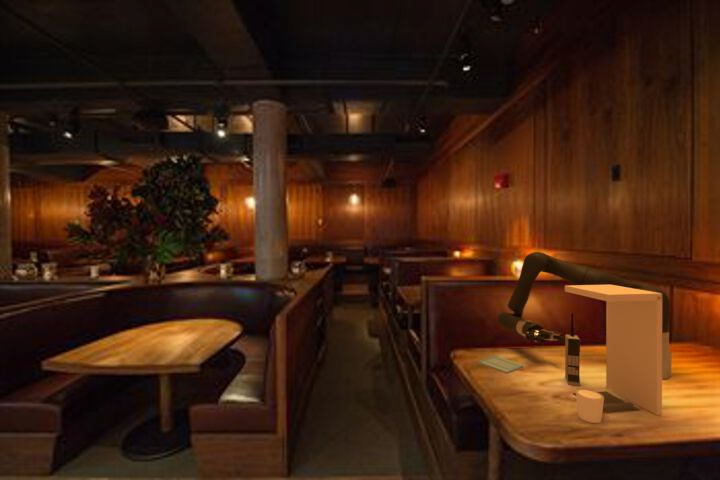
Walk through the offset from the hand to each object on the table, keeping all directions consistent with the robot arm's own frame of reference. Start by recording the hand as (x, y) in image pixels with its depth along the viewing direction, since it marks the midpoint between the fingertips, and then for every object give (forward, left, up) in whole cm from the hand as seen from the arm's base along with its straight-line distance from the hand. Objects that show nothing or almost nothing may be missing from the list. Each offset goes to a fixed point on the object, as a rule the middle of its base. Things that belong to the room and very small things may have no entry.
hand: (554, 341), depth 130 cm
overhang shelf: (-2, +24, -12) cm, 27 cm away
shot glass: (+12, +32, -12) cm, 36 cm away
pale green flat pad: (+17, -9, -13) cm, 23 cm away
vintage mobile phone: (0, +10, -12) cm, 16 cm away
